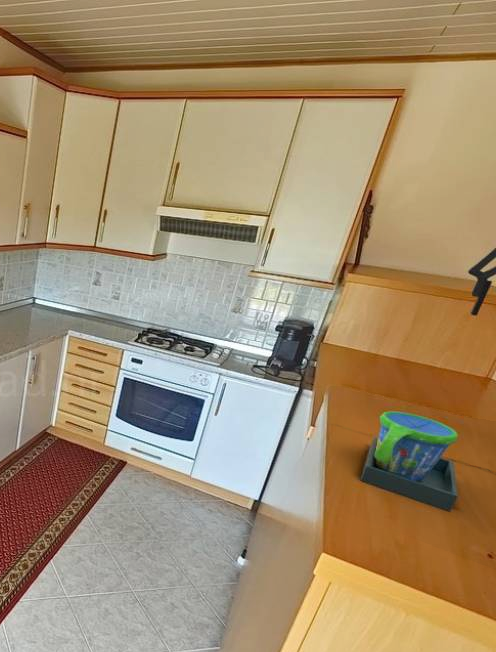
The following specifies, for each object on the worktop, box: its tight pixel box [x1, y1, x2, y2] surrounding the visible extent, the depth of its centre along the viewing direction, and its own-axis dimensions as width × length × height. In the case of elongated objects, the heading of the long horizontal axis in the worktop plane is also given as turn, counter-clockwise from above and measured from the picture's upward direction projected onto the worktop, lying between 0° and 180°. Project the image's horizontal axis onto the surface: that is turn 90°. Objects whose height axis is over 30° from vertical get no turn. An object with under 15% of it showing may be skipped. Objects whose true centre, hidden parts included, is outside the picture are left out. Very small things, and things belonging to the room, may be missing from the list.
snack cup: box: [373, 411, 459, 481], centre depth 89 cm, size 16×10×10 cm
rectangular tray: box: [359, 437, 459, 513], centre depth 89 cm, size 12×18×3 cm
